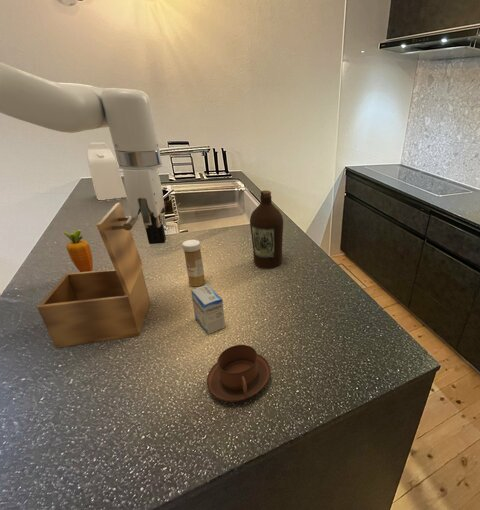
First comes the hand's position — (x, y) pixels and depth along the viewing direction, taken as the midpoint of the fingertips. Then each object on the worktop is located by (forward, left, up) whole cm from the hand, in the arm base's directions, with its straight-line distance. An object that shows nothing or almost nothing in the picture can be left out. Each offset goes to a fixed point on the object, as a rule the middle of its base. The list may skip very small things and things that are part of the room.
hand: (157, 242), depth 69 cm
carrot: (-25, +24, -21) cm, 40 cm away
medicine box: (+9, -6, -21) cm, 23 cm away
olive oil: (+27, +23, -21) cm, 41 cm away
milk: (-40, +108, -21) cm, 117 cm away
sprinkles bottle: (+5, +14, -21) cm, 25 cm away
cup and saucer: (+15, -26, -21) cm, 36 cm away
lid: (-7, 0, -1) cm, 7 cm away
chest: (-14, 0, -20) cm, 25 cm away
